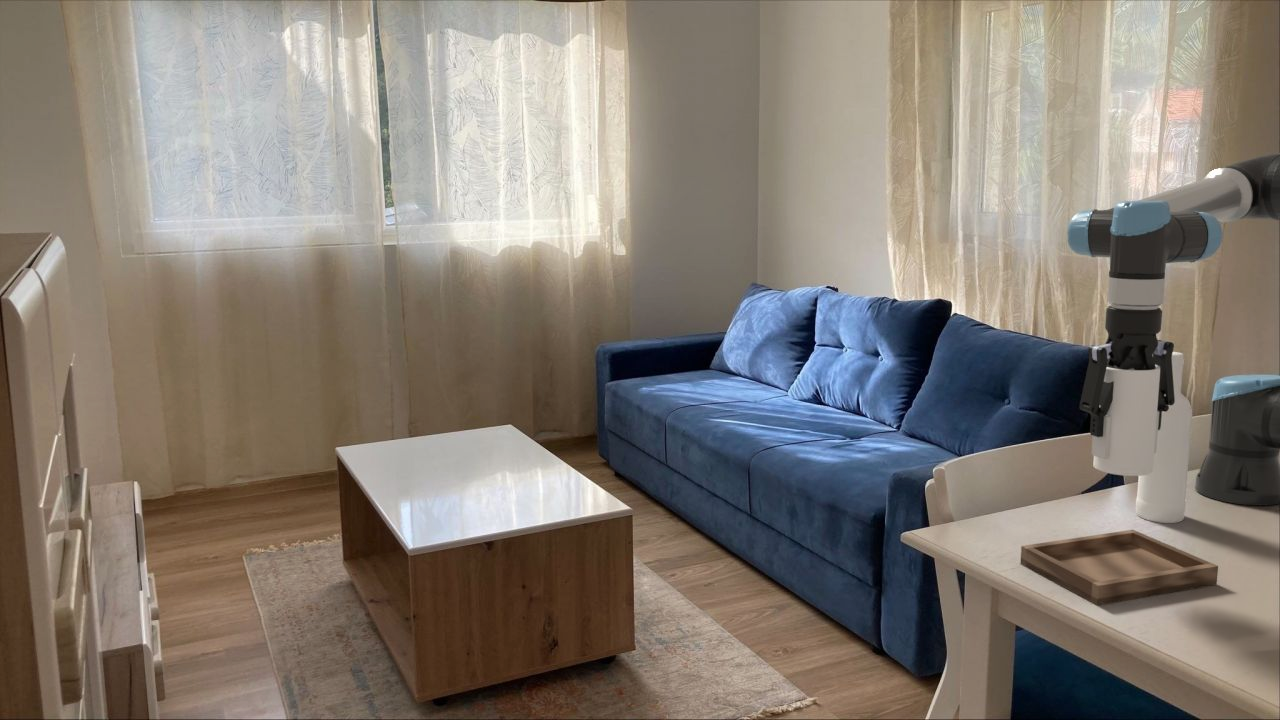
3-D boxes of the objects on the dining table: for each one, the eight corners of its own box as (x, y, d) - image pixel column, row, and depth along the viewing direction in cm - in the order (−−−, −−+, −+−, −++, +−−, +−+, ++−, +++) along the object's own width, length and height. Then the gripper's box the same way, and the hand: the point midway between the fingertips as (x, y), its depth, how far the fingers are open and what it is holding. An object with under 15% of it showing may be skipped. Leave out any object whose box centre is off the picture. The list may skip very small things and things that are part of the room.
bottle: (1194, 522, 181) (1208, 356, 176) (1153, 525, 180) (1166, 358, 175) (1165, 507, 189) (1177, 348, 183) (1126, 510, 188) (1137, 350, 182)
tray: (1131, 546, 170) (1132, 529, 169) (1216, 584, 154) (1218, 565, 153) (1020, 563, 163) (1021, 545, 163) (1097, 605, 147) (1098, 585, 147)
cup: (1159, 477, 151) (1167, 371, 148) (1100, 474, 152) (1107, 369, 150) (1144, 461, 159) (1151, 361, 156) (1087, 459, 160) (1094, 360, 158)
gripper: (1170, 299, 158) (1159, 441, 162) (1058, 306, 152) (1049, 454, 156) (1211, 305, 151) (1198, 453, 155) (1094, 313, 144) (1084, 467, 149)
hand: (1123, 453), depth 155 cm, fingers closed on cup, 8 cm apart
